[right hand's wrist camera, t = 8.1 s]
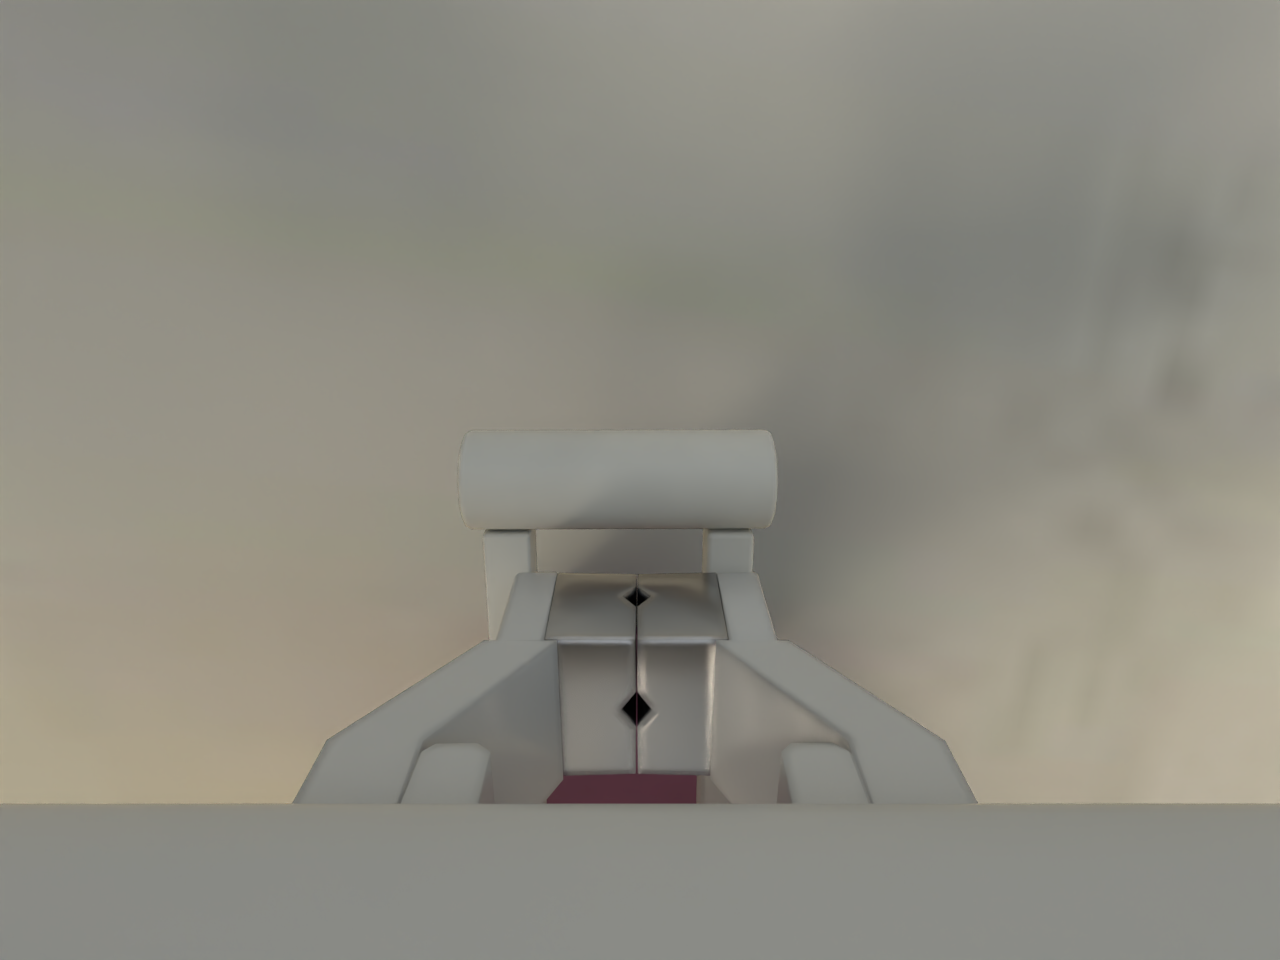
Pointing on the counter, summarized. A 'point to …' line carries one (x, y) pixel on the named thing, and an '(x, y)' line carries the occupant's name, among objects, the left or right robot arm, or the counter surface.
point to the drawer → (616, 527)
